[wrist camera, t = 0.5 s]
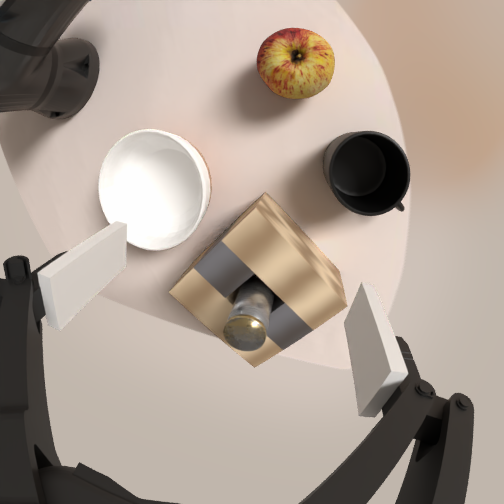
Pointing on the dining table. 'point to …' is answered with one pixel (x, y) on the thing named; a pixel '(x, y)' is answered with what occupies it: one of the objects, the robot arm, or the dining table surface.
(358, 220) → the dining table surface
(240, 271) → the socket block
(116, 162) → the bowl
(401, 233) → the dining table surface
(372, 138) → the mug
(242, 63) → the dining table surface
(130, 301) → the dining table surface
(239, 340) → the peg
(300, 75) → the apple
